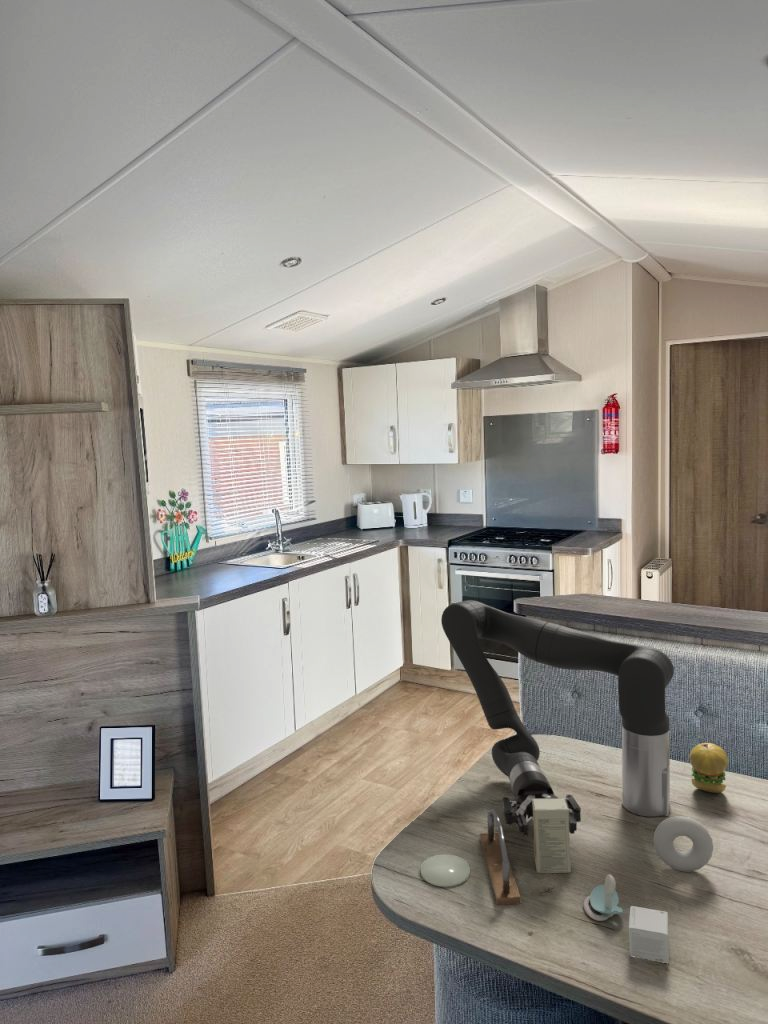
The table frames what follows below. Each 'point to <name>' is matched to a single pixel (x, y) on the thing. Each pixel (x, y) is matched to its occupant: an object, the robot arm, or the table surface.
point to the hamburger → (708, 767)
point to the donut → (683, 859)
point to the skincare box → (551, 835)
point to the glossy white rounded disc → (445, 870)
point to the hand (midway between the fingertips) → (549, 830)
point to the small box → (649, 934)
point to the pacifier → (603, 900)
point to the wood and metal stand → (499, 862)
